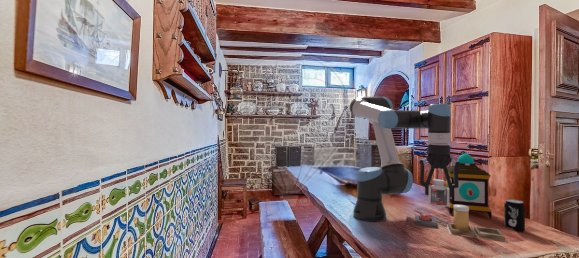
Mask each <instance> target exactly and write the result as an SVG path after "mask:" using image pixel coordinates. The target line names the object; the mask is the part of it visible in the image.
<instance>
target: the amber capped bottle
mask: <svg viewBox="0 0 579 258" xmlns="http://www.w3.org/2000/svg"><path fill="white" fill-rule="evenodd" d="M469 212H470V211H469V207H468V206H465V205H454V210H453V224H454V229H456V230H464V231H469V226H470V217H469V215H470V214H469Z"/></svg>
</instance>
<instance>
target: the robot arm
mask: <svg viewBox="0 0 579 258" xmlns="http://www.w3.org/2000/svg"><path fill="white" fill-rule="evenodd" d="M427 107H428V108H427V109H426V110H397V109H394V105H393V102H392V100H390V98H388V97H385V96H357V97H355V98H353V99H352V100H351V102H350V103H349V107H348V108H349V113H350V114H351V115H352V116H354V117H356V118H361V119H362V118H364V119H366V120H368V123H370V124H371V125H372V128H373V131H374V137H375V140H376V144H377V145H376V146H377V149H378V153H379V158H380V161H381V166H368V167H363V168H361V169H359V170H357V174H356V175H357V176H356V201H355V205H354V208H353V211H352V212H353V217H354V216H355V217H354V218H356V219H358V220H361V221H366V222H381V220H382V221H385V220H386V219H387V213H386V209H385V207H384V203H383V195H394V194H395V195H397V194H398V195H400V194H407V193H409V192H410V191H411V190H412V188H413V184H414V177H413V174H412V172H411V171H410V170H409V169H407V168H405V165H404V163H402V162H401V161H400V158H399V154H398V150H397V146H396V144H395V143H396V142H395V140H394V135H393V131H392V129H408V130H409V129H410V130H411V129H415V130H421V129H422V130H423V129H427V143H429V144H428V145H427V156H426V157H425V158H420V159H419V160H418V162H419V163H420V176H419V177H420V178H419V185H421V186H423V187H424V194H425V196H427V198H428V199H427V204H428V205H431V186H430V184H431V181H432V177H433V176H434V175H433V174H434V171H435V170H436V169H441V170H442V171H443V173H444V176H445V181H446V180H447V184H448V187H449V188H447V204H446V206H447V208H448V207H449V197H451V198H452V197H453V189H454V188H458V187H459V184H458V167H459V164H460V162H458V160H455V159H452V157H451V145H450V144H451V120H452V119H451V118H452V112H451V106H450V104H449V103H431V104H428V106H427ZM427 162H428V164H429V165H430V167H429V171H428V174H427V177H426V180H425V165H426V163H427ZM450 164H451V166H452V165H453V175H454V184H452V183H451V180H450V176H449V173H448V170H447V167H448V166H450ZM431 206H432V205H431ZM384 219H385V220H384Z"/></svg>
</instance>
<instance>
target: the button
mask: <svg viewBox="0 0 579 258" xmlns="http://www.w3.org/2000/svg"><path fill="white" fill-rule="evenodd" d="M419 216H420V220H425V221H431V217H432V216H431V214H430V213H424V212H423V213H420V214H419Z"/></svg>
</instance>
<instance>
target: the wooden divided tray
mask: <svg viewBox="0 0 579 258" xmlns="http://www.w3.org/2000/svg"><path fill="white" fill-rule="evenodd" d="M446 227H447V230H448V233H449V235H453V236H460V237H461V236H462V237H468V238H477V239H483V240H490V241H499V242H505V243H508V240H506V236H505V235H504V233H503V232H501V230H500V229H498V228H492V227H482V226H475V225H473V226H472V225H469V231H464V230H456V229H454V223H453V222H447V225H446Z"/></svg>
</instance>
